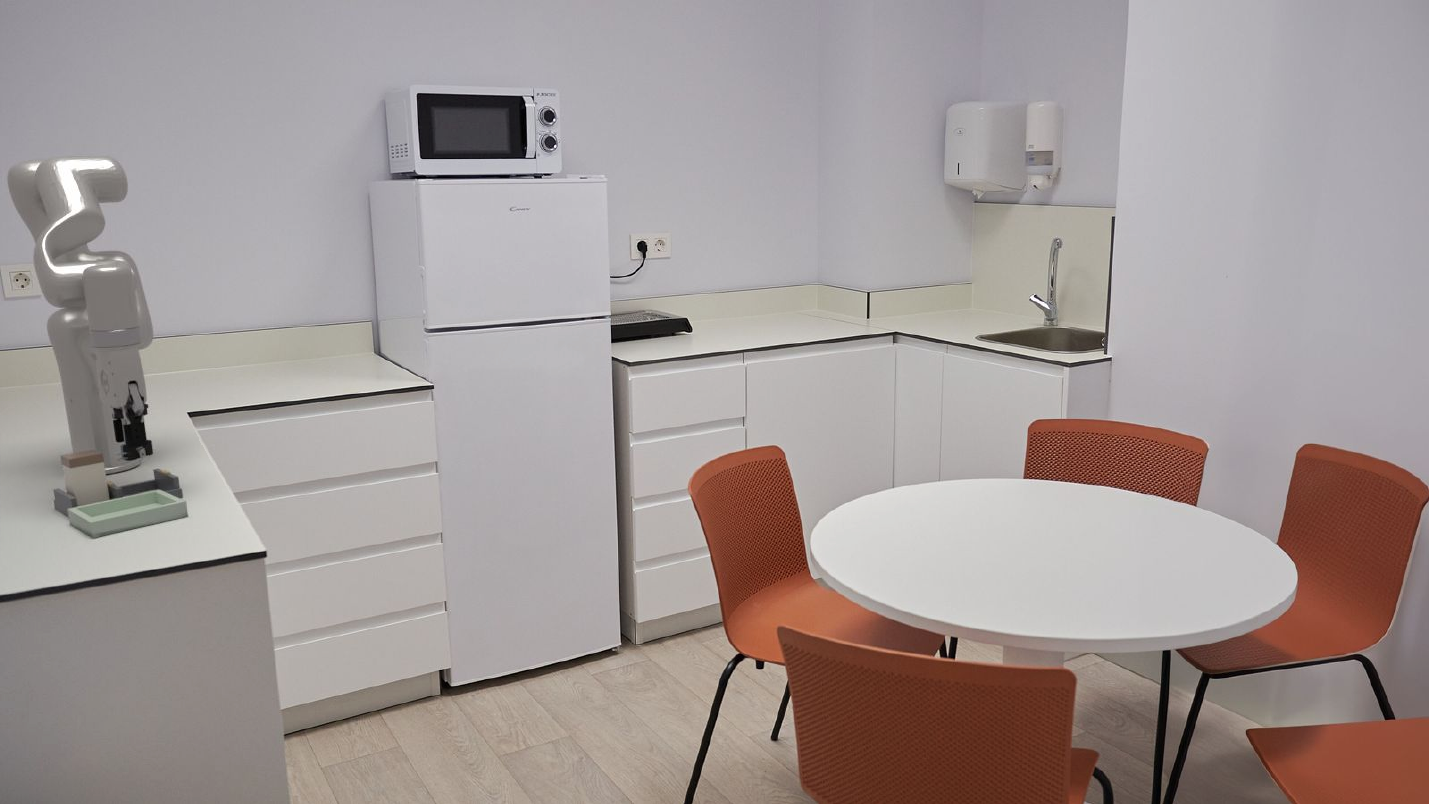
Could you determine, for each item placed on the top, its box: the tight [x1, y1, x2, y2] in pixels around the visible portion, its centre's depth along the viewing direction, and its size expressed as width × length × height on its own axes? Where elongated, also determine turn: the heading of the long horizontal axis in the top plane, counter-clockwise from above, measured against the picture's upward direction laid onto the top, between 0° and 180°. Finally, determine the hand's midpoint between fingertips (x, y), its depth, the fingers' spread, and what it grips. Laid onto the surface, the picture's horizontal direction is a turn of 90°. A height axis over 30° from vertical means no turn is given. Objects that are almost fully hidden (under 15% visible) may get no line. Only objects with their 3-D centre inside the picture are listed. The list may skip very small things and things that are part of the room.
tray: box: [67, 489, 189, 539], centre depth 176 cm, size 12×14×2 cm
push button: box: [113, 402, 154, 461], centre depth 188 cm, size 7×5×10 cm
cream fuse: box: [60, 450, 110, 507], centre depth 183 cm, size 5×5×10 cm
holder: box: [52, 468, 184, 517], centre depth 187 cm, size 12×17×4 cm
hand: (131, 442), depth 189 cm, fingers closed on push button, 4 cm apart
